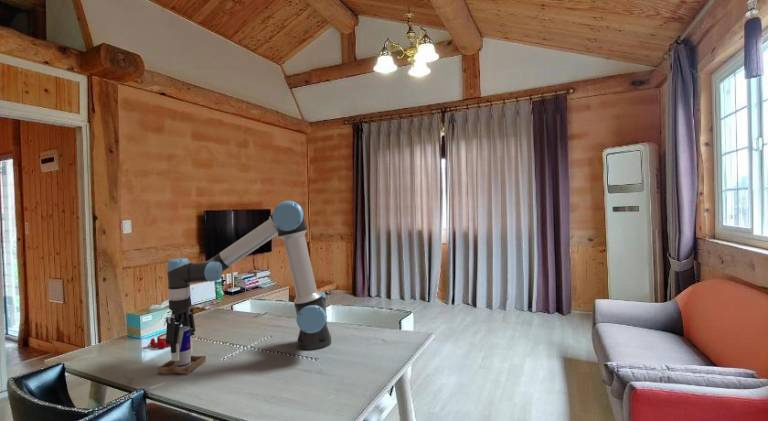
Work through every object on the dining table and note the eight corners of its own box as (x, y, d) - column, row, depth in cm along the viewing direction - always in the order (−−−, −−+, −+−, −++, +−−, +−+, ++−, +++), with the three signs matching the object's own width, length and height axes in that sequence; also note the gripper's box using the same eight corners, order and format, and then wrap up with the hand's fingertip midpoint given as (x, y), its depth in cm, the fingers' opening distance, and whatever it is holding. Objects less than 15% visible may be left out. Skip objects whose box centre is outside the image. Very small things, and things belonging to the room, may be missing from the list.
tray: (205, 361, 155) (205, 355, 155) (187, 374, 143) (187, 368, 143) (178, 361, 156) (178, 355, 156) (157, 374, 144) (157, 368, 144)
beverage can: (183, 369, 146) (183, 331, 145) (171, 368, 147) (170, 330, 147) (193, 363, 152) (193, 326, 151) (181, 362, 153) (181, 325, 152)
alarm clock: (188, 333, 181) (158, 336, 168) (186, 346, 180) (156, 351, 167) (173, 330, 186) (143, 333, 172) (171, 344, 185) (141, 348, 171)
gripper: (186, 292, 160) (189, 346, 160) (152, 305, 139) (155, 367, 140) (203, 292, 159) (205, 346, 159) (171, 304, 139) (174, 367, 139)
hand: (182, 356), depth 149 cm, fingers open, 7 cm apart
